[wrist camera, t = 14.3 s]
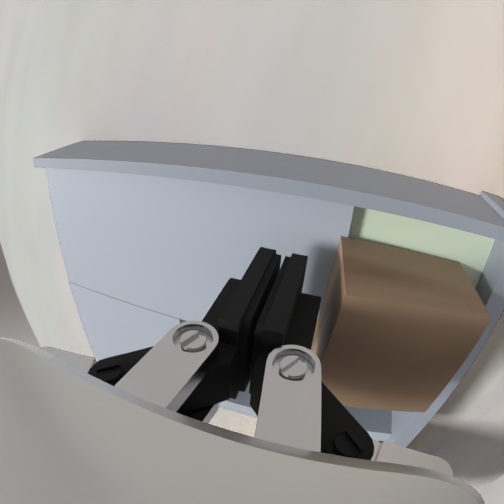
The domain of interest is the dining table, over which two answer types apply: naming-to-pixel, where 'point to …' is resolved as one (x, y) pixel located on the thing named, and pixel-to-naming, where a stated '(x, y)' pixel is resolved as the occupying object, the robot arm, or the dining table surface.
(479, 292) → the tray
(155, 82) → the dining table surface
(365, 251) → the block
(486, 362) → the dining table surface
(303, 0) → the dining table surface
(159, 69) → the dining table surface
